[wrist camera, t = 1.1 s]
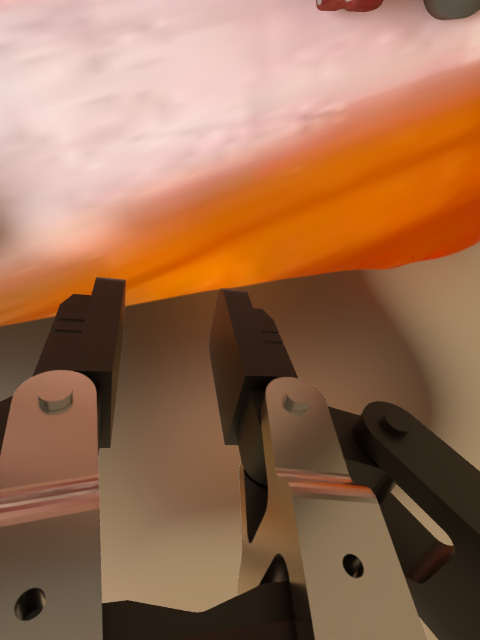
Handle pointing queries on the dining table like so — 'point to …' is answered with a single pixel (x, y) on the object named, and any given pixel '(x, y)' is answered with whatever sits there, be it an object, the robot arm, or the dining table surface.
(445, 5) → the spare wheel
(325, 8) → the toy fire truck
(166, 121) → the dining table surface
